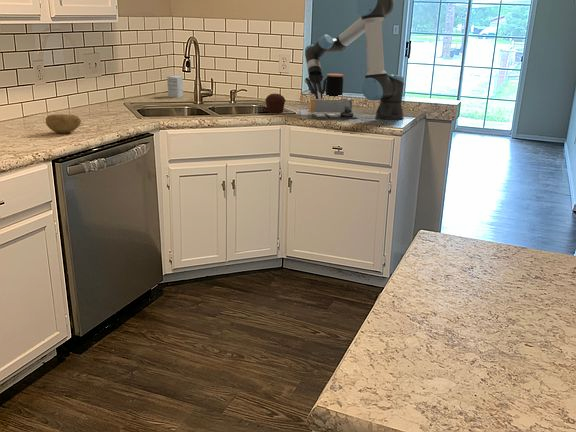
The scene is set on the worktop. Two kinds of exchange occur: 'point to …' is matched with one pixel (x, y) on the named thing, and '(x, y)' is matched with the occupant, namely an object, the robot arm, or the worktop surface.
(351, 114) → the pivot plinth
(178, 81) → the supplement box
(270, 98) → the muffin
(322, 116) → the label tile
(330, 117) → the label tile
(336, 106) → the swing arm
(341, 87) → the coffee jar
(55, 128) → the brown bowl
